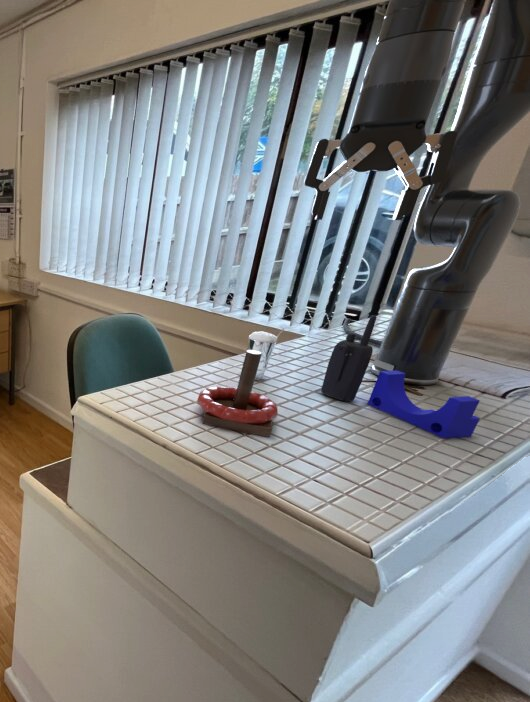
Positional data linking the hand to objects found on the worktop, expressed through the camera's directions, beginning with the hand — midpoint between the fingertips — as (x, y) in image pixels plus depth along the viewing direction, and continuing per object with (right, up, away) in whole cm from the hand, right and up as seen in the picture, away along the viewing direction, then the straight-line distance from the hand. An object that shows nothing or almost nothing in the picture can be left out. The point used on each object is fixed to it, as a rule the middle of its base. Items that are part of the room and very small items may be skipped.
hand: (356, 219), depth 64 cm
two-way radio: (+11, -25, +17) cm, 32 cm away
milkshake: (+3, -21, +26) cm, 34 cm away
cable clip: (+17, -29, +9) cm, 35 cm away
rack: (-10, -29, +10) cm, 32 cm away
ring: (-11, -26, +10) cm, 30 cm away
